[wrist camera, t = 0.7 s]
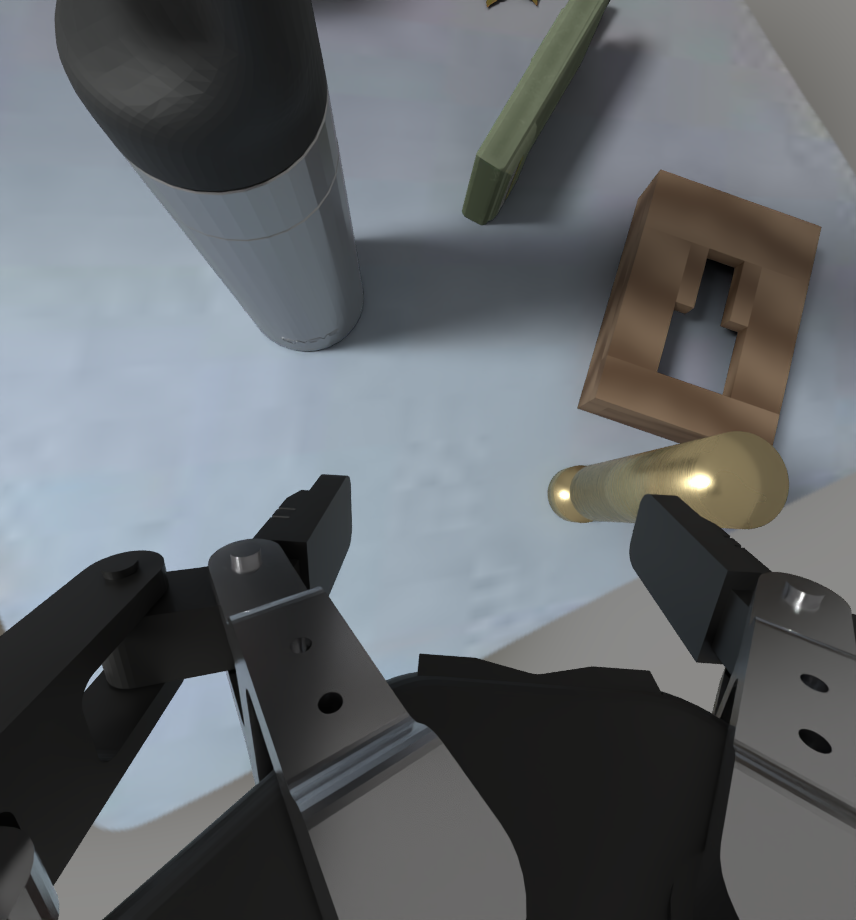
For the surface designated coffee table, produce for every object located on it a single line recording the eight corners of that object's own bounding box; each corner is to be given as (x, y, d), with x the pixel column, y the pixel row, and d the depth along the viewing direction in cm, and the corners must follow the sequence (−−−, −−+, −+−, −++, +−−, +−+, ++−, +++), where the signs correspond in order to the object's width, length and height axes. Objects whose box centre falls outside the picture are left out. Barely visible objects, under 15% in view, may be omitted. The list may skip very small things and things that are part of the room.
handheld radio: (454, 213, 37) (581, 2, 40) (487, 233, 37) (611, 21, 40) (469, 150, 30) (620, -96, 33) (509, 174, 30) (655, -73, 34)
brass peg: (542, 473, 34) (678, 437, 17) (593, 462, 35) (775, 417, 18) (554, 527, 34) (706, 544, 17) (607, 516, 34) (806, 521, 17)
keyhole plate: (735, 462, 35) (769, 457, 32) (577, 408, 35) (595, 397, 32) (785, 251, 38) (821, 227, 35) (638, 199, 38) (660, 169, 34)
